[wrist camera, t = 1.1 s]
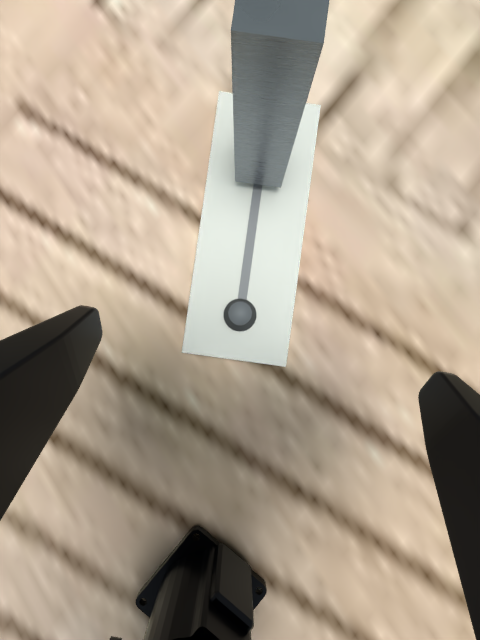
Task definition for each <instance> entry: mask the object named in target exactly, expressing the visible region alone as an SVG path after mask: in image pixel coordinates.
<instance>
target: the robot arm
mask: <svg viewBox="0 0 480 640" xmlns="http://www.w3.org/2000/svg"><path fill="white" fill-rule="evenodd" d="M101 338H102V327H101V322H100V316H99V312H98V310H97V309H96V308H94V307H89V306H82V305H81V306H78V307H75V308H73V309H71V310H68V311H66V312H64V313H62V314H59V315H57V316H55V317H53V318H50V319H48V320H46V321H44V322H41V323H39V324H37V325H34V326H32V327H30V328H28V329H25V330H23V331H21V332H19V333H16V334H14V335H12V336H10V337H7V338H5V339H3V340H1V341H0V520H1V519H2V517H3V515H4V514H5V512H6V510H7V509H8V507H9V505H10V503H11V502H12V500H13V498H14V497H15V495H16V493H17V492H18V490H19V488H20V487H21V485H22V483H23V482H24V480H25V478H26V477H27V475H28V473H29V472H30V470H31V468H32V467H33V465H34V463H35V462H36V460H37V458H38V457H39V455H40V453H41V452H42V450H43V448H44V446H45V445H46V443H47V441H48V440H49V438H50V436H51V435H52V433H53V431H54V430H55V428H56V426H57V425H58V423H59V421H60V420H61V418H62V416H63V415H64V413H65V411H66V410H67V408H68V406H69V405H70V403H71V401H72V400H73V398H74V396H75V394H76V393H77V391H78V389H79V387H80V385H81V383H82V381H83V379H84V377H85V374H86V372H87V370H88V368H89V365H90V363H91V361H92V359H93V357H94V354H95V352H96V350H97V348H98V345H99V343H100V341H101ZM418 398H419V406H420V412H421V419H422V425H423V432H424V439H425V445H426V450H427V455H428V459H429V463H430V467H431V471H432V475H433V478H434V482H435V486H436V490H437V493H438V497H439V501H440V505H441V509H442V512H443V516H444V520H445V524H446V527H447V531H448V535H449V539H450V542H451V546H452V550H453V554H454V558H455V561H456V565H457V569H458V573H459V576H460V580H461V584H462V588H463V591H464V595H465V599H466V603H467V607H468V610H469V614H470V618H471V622H472V625H473V629H474V633H475V637H476V640H480V395H479V394H478V393H477V392H476V391H475V390H473V389H472V388H471V387H470V386H469V385H467V384H466V383H465V382H464V381H462V380H461V379H460V378H459V377H458V376H456V375H454V374H452V373H447V372H441V371H438V372H435V373H434V374H433V375H432V376H431V377H430V379H429V380H428V381H427V382H426V384H425V385H424V386H423V387H422V388H421V390H420V392H419V397H418ZM194 534H199V535H200V536H199V537H195V536H194ZM257 587H261V588H262V589H260V590H257V589H256V588H257ZM265 595H266V584H265V582H264V580H263V579H261V578H260V577H259V576H258V575H257V574H256V573H254V572H253V571H252V570H251V567H250V566H249V565H248V564H247V563H246V562H245V561H243V560H242V559H241V558H240V557H239V556H238V555H236V554H235V553H234V552H233V551H232V550H231V549H229V548H228V547H227V546H226V545H225V544H222V543H219V542H218V541H217V540H216V539H214V538H213V537H212V536H211V535H210V534H209V533H207V532H206V531H205V530H204V529H203V528H201V527H200V526H195V527H193V528H192V529H191V530H190V531H189V532H188V533H187V535H186V536H185V537H184V538H183V540H182V541H181V542H180V543H179V544H178V546H177V547H176V548H175V549H174V551H173V552H172V553H171V554H170V555H169V557H168V558H167V559H166V560H165V561H164V563H163V564H162V565H161V566H160V568H159V569H158V570H157V571H156V572H155V574H154V575H153V576H152V577H151V579H150V580H149V581H148V582H147V583H146V585H145V586H144V587H143V588H142V589H141V591H140V592H139V594H138V596H137V599H136V605H137V607H138V608H139V609H140V610H141V611H142V612H144V613H145V614H146V615H147V616H148V617H149V618H150V620H149V623H148V626H147V629H146V633H145V636H144V639H143V640H251V630H252V628H253V626H254V620H253V610H254V609H255V607H256V606H257V605H258V604H259V602H260V601H261V600H262V599H263V598H264V596H265ZM142 598H145V599H146V601H144V600H142ZM110 640H122V638H118V637H113V636H111V638H110Z"/></svg>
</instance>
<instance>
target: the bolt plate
mask: <svg viewBox="0 0 480 640" xmlns="http://www.w3.org/2000/svg"><path fill="white" fill-rule="evenodd" d="M320 106H321V105H316V104H309V103H306V104H305V108H304V111H303V115H302V118H301V121H300V125H299V128H298V132H297V135H296V138H295V142H294V145H293V148H292V152H291V155H290V159H289V162H288V165H287V169H286V172H285V176H284V179H283V182H282V186H281V188H279V187H271V186H264V185H257V184H250V183H242V182H235V161H234V124H233V93H228V92H221V91H219V97H218V104H217V111H216V118H215V125H214V132H213V139H212V146H211V153H210V160H209V167H208V173H207V180H206V187H205V194H204V201H203V208H202V215H201V222H200V229H199V236H198V243H197V250H196V257H195V264H194V271H193V278H192V285H191V292H190V299H189V306H188V313H187V320H186V327H185V334H184V341H183V348H182V353H189V354H197V355H204V356H211V357H218V358H226V359H233V360H240V361H247V362H255V363H262V364H269V365H276V366H283V367H286V362H287V355H288V347H289V340H290V332H291V325H292V317H293V310H294V302H295V295H296V287H297V280H298V272H299V264H300V257H301V249H302V242H303V234H304V227H305V219H306V212H307V204H308V197H309V189H310V182H311V174H312V166H313V159H314V151H315V144H316V136H317V129H318V121H319V114H320Z"/></svg>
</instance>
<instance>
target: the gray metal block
mask: <svg viewBox="0 0 480 640" xmlns="http://www.w3.org/2000/svg"><path fill="white" fill-rule="evenodd" d="M328 6H329V0H235V6H234V13H233V20H232V27H231V50H232V87H233V124H234V161H235V182H242V183H250V184H257V185H264V186H271V187H279V188H281V186H282V182H283V179H284V176H285V172H286V169H287V165H288V162H289V159H290V155H291V152H292V148H293V145H294V142H295V138H296V135H297V132H298V128H299V125H300V121H301V118H302V115H303V111H304V108H305V104H306V101H307V98H308V94H309V91H310V88H311V84H312V81H313V77H314V74H315V71H316V67H317V64H318V60H319V57H320V54H321V50H322V47H323V43H324V36H325V29H326V21H327V14H328Z"/></svg>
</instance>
